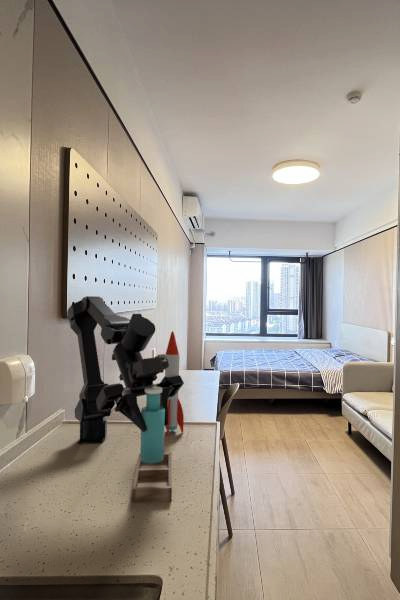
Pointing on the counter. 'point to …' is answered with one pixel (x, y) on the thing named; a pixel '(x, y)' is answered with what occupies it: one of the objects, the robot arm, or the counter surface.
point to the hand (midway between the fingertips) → (156, 427)
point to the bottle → (153, 427)
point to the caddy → (153, 481)
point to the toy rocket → (173, 402)
